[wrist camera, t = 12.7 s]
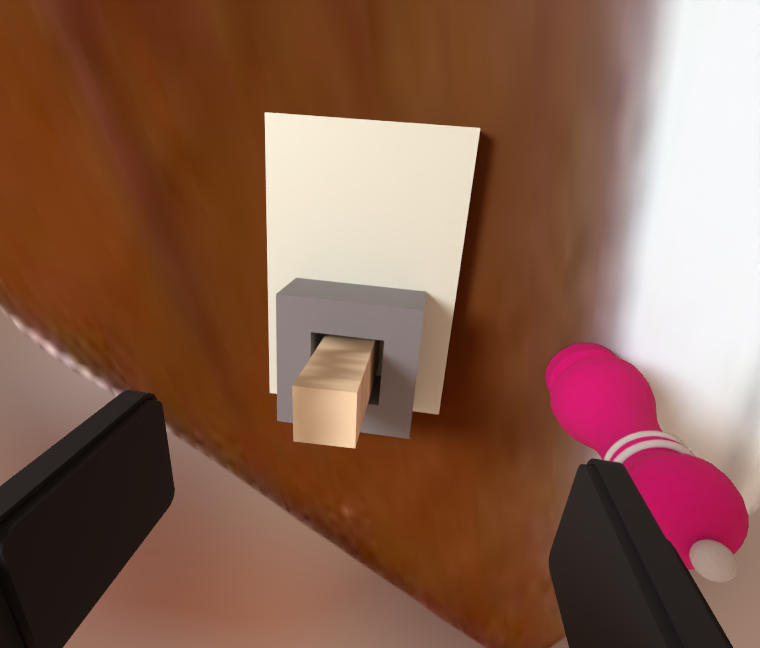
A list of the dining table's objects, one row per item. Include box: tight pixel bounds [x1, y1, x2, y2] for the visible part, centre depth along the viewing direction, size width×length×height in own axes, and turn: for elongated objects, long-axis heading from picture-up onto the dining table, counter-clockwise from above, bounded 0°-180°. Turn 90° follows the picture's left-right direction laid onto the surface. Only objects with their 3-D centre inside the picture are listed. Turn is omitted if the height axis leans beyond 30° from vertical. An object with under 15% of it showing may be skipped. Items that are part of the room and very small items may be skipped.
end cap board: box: [265, 112, 480, 439], centre depth 34 cm, size 16×24×6 cm, turn 176°
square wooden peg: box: [292, 334, 380, 448], centre depth 32 cm, size 4×4×12 cm
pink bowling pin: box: [545, 343, 748, 583], centre depth 28 cm, size 7×7×20 cm
